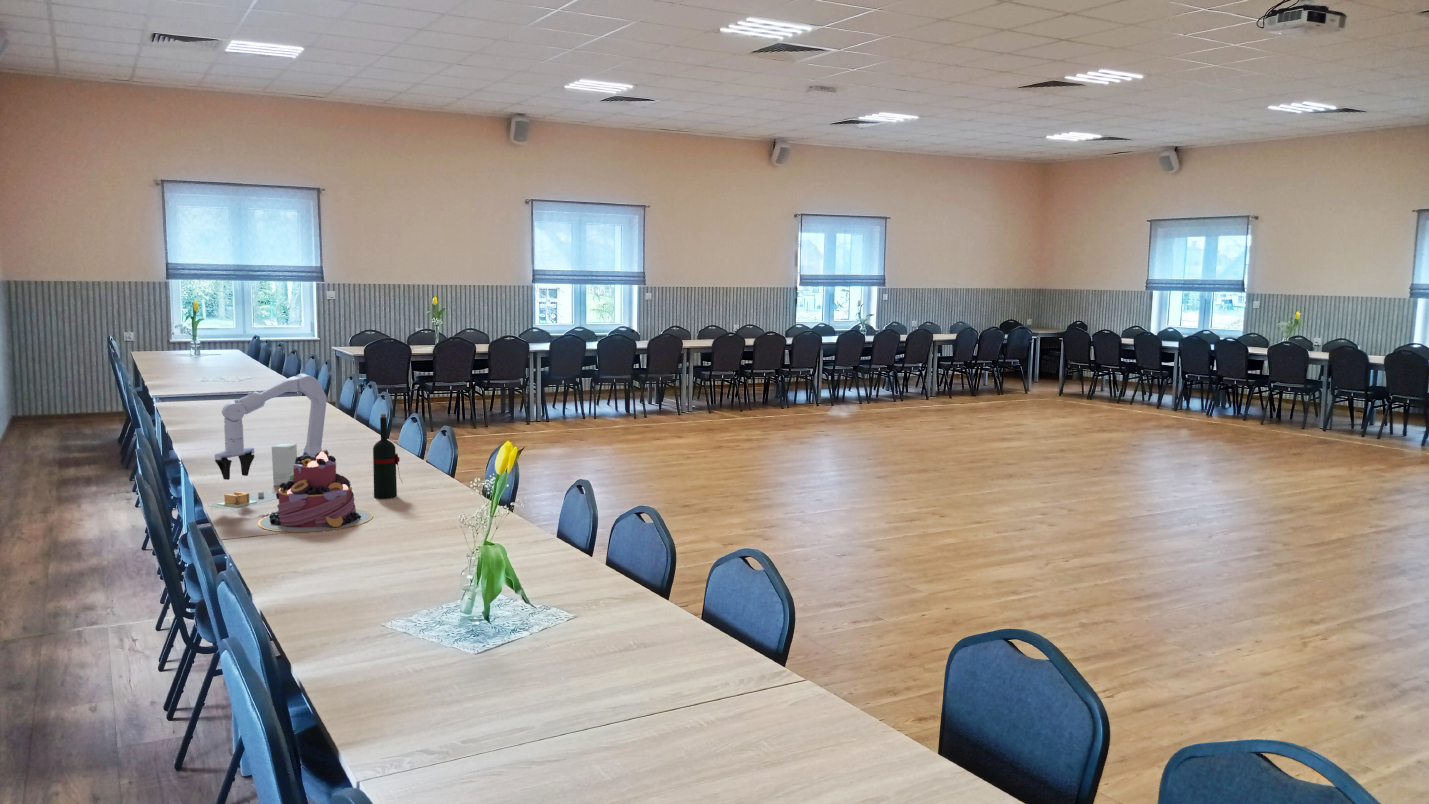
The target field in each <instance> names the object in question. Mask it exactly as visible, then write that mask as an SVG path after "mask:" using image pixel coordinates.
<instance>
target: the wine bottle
mask: <svg viewBox="0 0 1429 804" xmlns="http://www.w3.org/2000/svg"><path fill="white" fill-rule="evenodd" d="M386 415H387V414H386V413H380V418H379V421H380V423H379V424H380V425H379V426H380V427H379V428H380V440H378V441H377V442H376V443H375V444H374V445H373V448H372V452H373V453H372V457H373V458H372V462H373V464H372V465H373V466H372V467H373V469H372V470H373V497H374V499H377V500H378V499H379V500H387V499H395V498H397V496H398V489H397V488H398V487H397V484H398V483H397V482H398V481H397V469H398V471H400V470H399V469H400V468H399V463H400V456H399V453H398V452H397V453H396V446H395V444H394V443H393V442H392V441H391V440H388V419H387V418H388V417H387V416H386ZM398 475H399V478H401V476H400V475H401V474H400V473H398ZM400 482H401V483H402V484H404V482H403V481H402V479H400Z"/></svg>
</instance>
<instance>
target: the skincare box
mask: <svg viewBox="0 0 1429 804" xmlns="http://www.w3.org/2000/svg"><path fill="white" fill-rule="evenodd" d="M297 446H298V445H297V443H279V444H275V445H273V446H271V457H272V458H271V460H272V462H271V463H272V479H273V480H272V482H273V483H272V484H273V486H279V487H280V484H281V483H287V482H288V481H290V480H292V479H293V477H294V469H293V464H294V463H295V460H296V457H298V448H297Z"/></svg>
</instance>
